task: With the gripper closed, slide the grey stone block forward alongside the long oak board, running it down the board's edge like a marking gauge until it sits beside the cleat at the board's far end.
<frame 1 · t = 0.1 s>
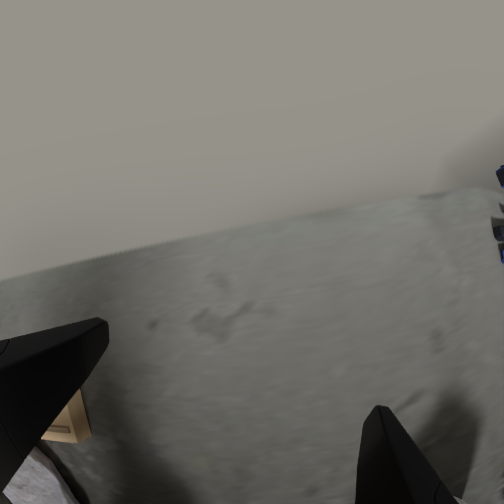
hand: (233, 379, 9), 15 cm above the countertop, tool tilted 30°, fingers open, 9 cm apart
stone block: (52, 490, 21), on the countertop
oak board: (3, 405, 23), on the countertop
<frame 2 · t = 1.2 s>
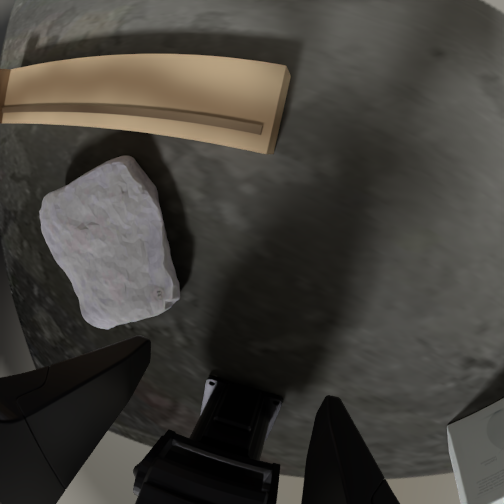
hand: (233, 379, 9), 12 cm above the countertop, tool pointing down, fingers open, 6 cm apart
skincare box: (491, 419, 21), on the countertop
stone block: (127, 237, 23), on the countertop
oak board: (106, 93, 19), on the countertop
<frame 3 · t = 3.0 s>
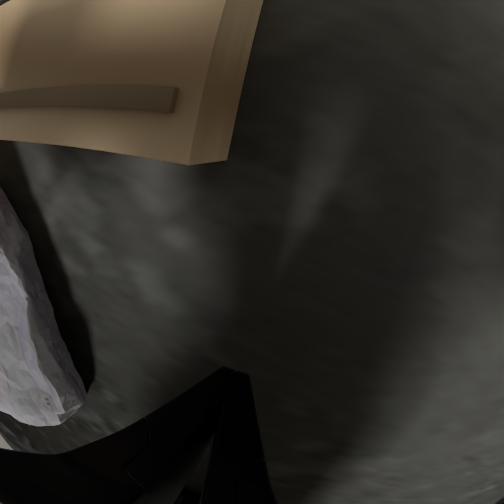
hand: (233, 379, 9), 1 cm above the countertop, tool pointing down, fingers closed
stone block: (19, 302, 13), on the countertop
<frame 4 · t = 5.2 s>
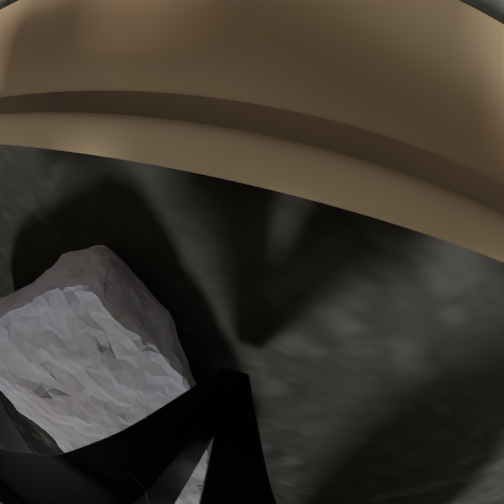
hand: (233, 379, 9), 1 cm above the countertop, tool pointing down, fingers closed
stone block: (127, 376, 12), on the countertop, touching gripper
oak board: (114, 68, 8), on the countertop
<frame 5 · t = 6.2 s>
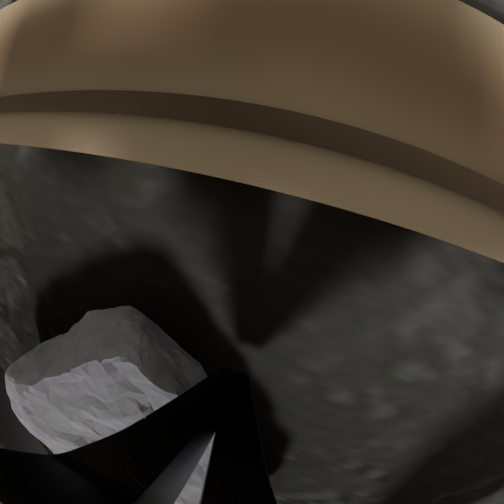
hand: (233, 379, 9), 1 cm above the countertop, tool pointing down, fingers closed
stone block: (159, 417, 13), on the countertop, touching gripper
oak board: (242, 74, 7), on the countertop
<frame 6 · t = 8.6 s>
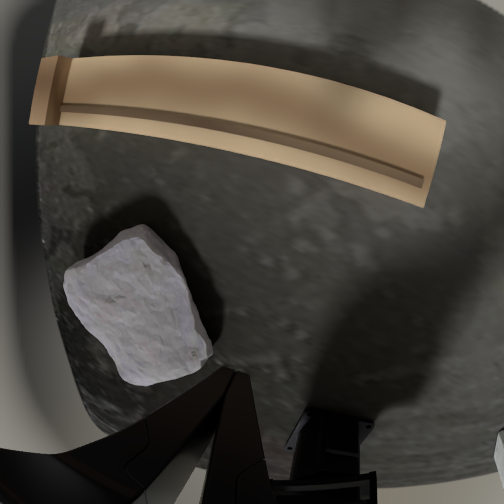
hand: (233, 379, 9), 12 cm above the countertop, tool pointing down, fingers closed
stone block: (153, 299, 24), on the countertop
oak board: (216, 105, 18), on the countertop
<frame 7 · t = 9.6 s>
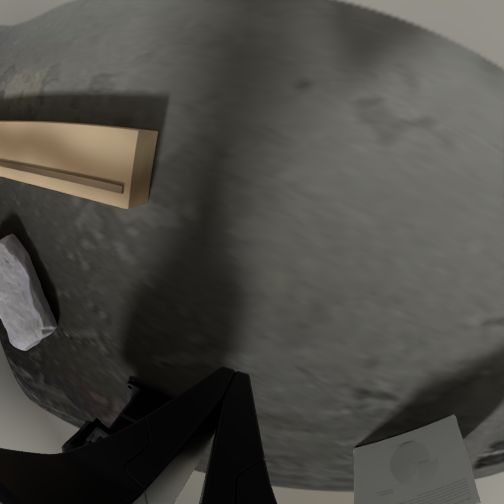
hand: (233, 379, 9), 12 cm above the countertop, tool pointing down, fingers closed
skincare box: (409, 446, 24), on the countertop
stone block: (27, 287, 28), on the countertop
oak board: (36, 148, 22), on the countertop
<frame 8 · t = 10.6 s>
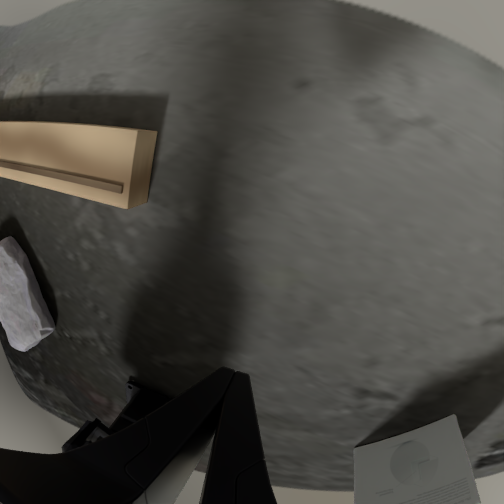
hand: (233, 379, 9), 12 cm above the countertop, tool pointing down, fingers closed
skincare box: (409, 446, 24), on the countertop
stone block: (25, 288, 28), on the countertop
oak board: (36, 148, 22), on the countertop
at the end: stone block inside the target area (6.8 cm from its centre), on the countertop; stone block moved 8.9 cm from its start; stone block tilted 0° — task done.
